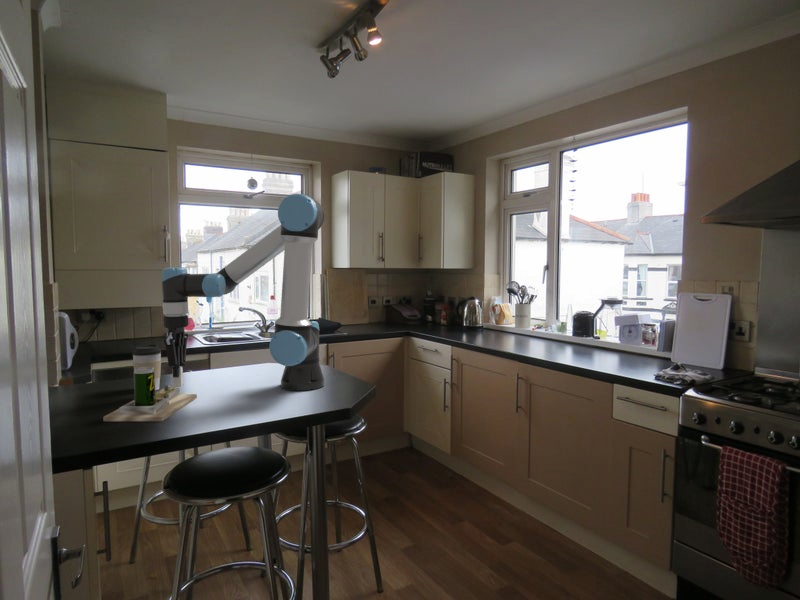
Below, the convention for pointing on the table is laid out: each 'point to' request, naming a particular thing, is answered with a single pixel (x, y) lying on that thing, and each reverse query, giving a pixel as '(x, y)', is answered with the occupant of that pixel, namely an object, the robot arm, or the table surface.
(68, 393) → the table surface
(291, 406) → the table surface
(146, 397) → the beer can
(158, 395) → the bar
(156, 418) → the dock
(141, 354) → the coffee cup
